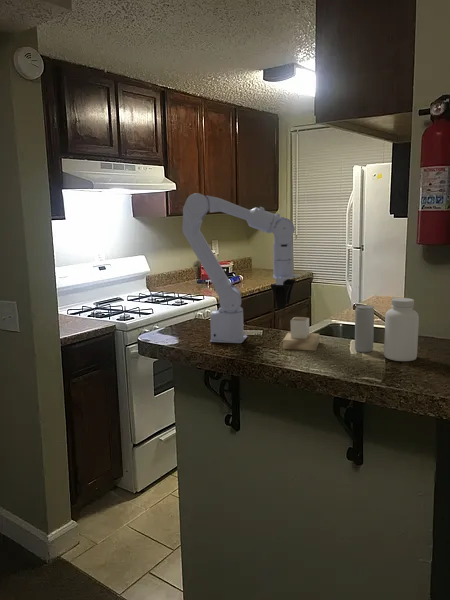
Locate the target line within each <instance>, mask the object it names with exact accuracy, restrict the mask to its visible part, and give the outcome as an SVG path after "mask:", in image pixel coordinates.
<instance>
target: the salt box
mask: <svg viewBox="0 0 450 600" xmlns="http://www.w3.org/2000/svg"><path fill="white" fill-rule="evenodd" d="M289 322H290V333H291V338H299V339H307V338H308V336H309V333H310V317H307V316H306V317H305V316H295V317H293V318H291V319H290V321H289Z"/></svg>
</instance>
